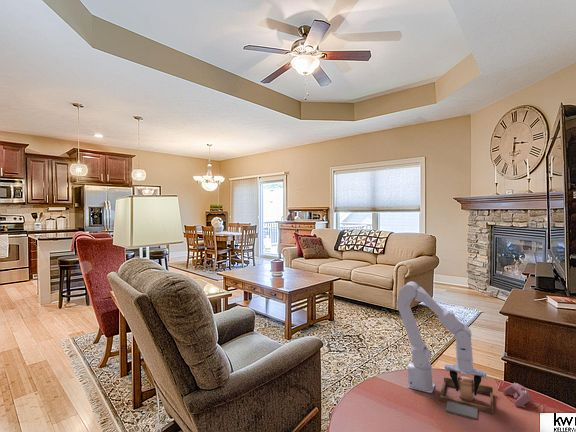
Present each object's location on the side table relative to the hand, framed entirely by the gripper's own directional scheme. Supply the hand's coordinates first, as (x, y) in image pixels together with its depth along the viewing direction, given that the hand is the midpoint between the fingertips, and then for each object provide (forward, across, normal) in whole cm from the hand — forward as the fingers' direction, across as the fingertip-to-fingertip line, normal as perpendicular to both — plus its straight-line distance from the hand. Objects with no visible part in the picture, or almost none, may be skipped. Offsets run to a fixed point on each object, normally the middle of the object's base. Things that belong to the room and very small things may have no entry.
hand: (466, 392), depth 122 cm
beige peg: (+2, 0, 0) cm, 2 cm away
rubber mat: (+2, -1, -11) cm, 11 cm away
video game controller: (+2, +17, +7) cm, 18 cm away
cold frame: (+2, 0, 0) cm, 2 cm away
